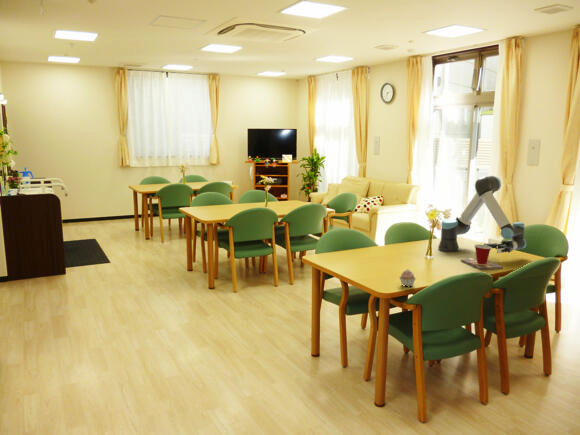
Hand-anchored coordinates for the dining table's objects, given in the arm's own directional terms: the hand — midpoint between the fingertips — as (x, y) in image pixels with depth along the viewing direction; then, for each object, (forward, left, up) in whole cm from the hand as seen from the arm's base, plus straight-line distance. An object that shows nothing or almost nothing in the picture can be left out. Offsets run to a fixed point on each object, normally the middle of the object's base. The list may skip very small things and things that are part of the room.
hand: (488, 249), depth 313 cm
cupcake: (+35, -74, -10) cm, 83 cm away
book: (+2, -6, -10) cm, 12 cm away
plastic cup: (+4, -7, -8) cm, 12 cm away
